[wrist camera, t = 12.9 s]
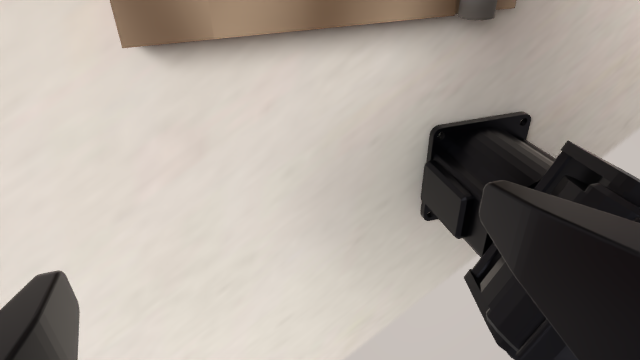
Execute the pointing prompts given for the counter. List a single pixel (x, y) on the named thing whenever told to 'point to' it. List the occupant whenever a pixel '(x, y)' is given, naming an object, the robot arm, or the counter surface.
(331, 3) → the shelf frame
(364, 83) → the counter surface
